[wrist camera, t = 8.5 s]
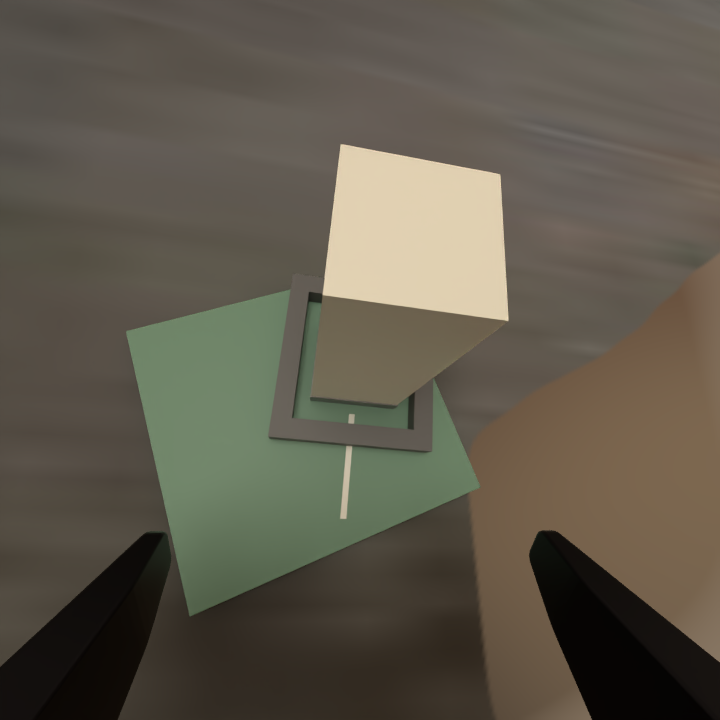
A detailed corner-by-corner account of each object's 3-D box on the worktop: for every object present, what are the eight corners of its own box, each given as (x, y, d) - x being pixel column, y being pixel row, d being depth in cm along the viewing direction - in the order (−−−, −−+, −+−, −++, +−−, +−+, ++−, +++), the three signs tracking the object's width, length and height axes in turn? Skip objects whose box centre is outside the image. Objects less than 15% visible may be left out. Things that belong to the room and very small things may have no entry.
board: (498, 476, 21) (517, 476, 19) (194, 610, 17) (181, 627, 15) (403, 262, 24) (411, 244, 22) (131, 331, 20) (113, 316, 18)
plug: (393, 409, 20) (510, 323, 9) (309, 400, 20) (320, 296, 8) (397, 321, 22) (500, 154, 10) (320, 310, 21) (341, 122, 10)
